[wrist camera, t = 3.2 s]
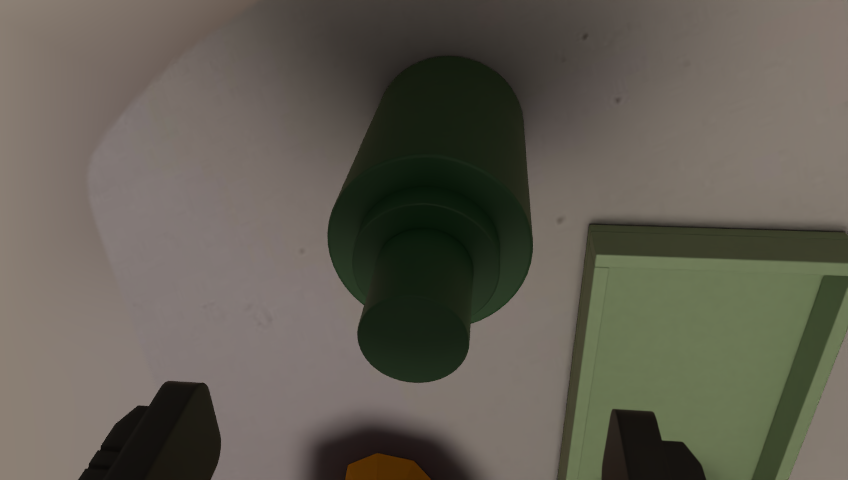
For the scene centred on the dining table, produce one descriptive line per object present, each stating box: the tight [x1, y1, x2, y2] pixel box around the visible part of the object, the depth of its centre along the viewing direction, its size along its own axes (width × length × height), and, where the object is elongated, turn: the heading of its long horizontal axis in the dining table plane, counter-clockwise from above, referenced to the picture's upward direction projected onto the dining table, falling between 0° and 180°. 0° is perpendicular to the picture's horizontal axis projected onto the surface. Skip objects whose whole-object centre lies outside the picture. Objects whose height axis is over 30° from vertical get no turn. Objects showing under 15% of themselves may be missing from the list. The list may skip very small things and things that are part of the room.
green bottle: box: [328, 56, 533, 383], centre depth 21 cm, size 6×6×13 cm
